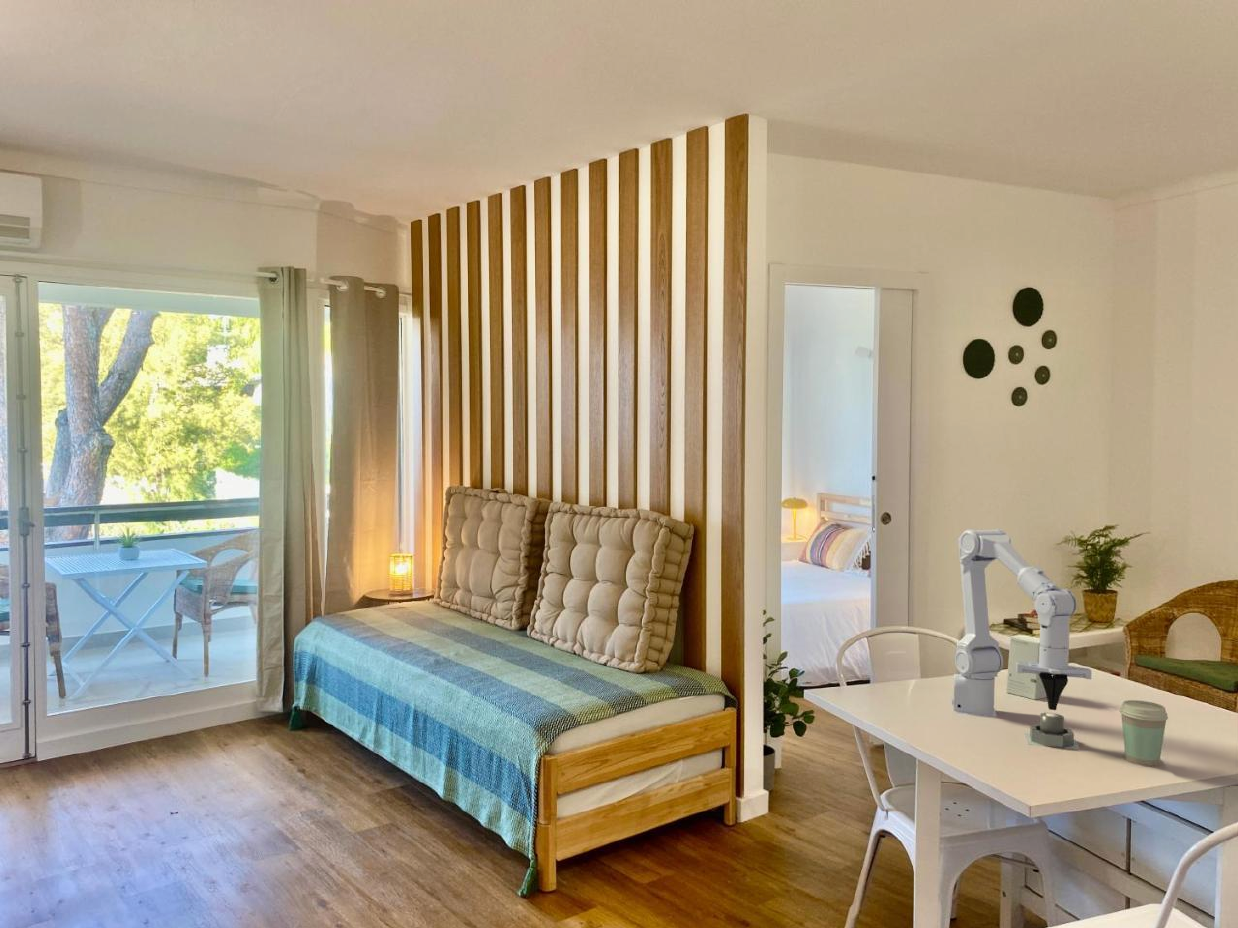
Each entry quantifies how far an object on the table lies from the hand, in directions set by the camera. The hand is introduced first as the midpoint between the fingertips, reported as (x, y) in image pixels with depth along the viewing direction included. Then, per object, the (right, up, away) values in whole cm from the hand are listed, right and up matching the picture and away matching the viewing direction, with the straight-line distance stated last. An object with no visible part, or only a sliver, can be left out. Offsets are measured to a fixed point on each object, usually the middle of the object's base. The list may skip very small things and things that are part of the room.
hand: (1052, 708), depth 200 cm
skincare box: (+12, -7, +39) cm, 42 cm away
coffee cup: (+13, -8, -12) cm, 19 cm away
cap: (0, -7, 0) cm, 7 cm away
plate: (0, -8, 0) cm, 8 cm away
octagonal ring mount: (0, -7, 0) cm, 7 cm away
